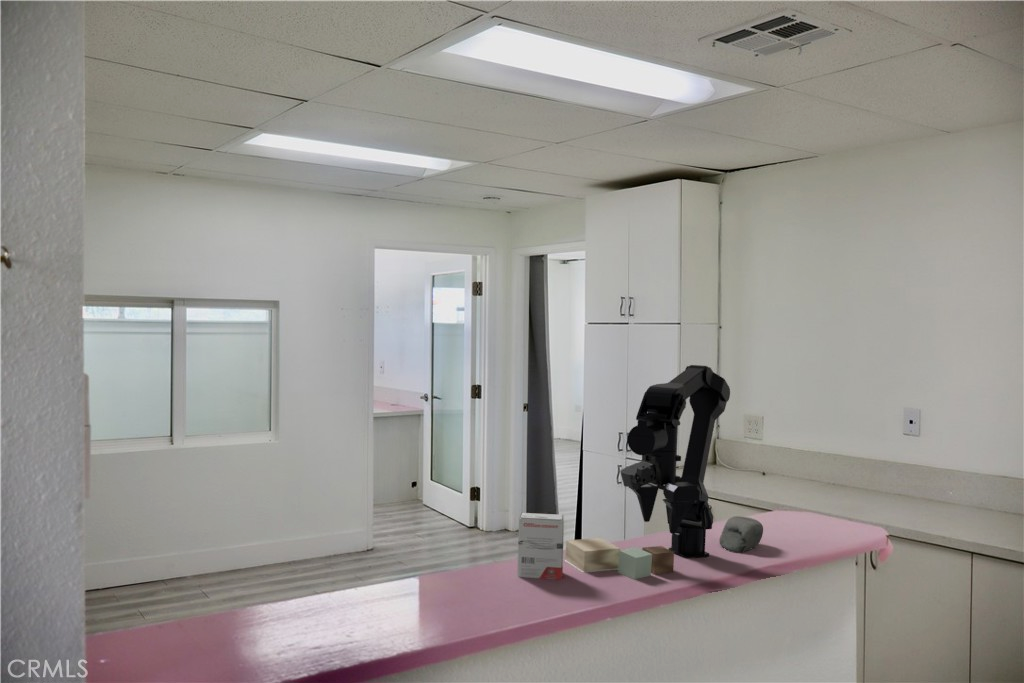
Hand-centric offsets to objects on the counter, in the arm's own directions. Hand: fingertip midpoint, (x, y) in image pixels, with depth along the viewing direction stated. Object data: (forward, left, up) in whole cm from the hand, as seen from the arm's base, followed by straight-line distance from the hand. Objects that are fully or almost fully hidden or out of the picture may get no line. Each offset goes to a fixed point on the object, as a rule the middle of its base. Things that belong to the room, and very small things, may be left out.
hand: (659, 527), depth 156 cm
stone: (-29, -11, -9) cm, 32 cm away
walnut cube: (0, 0, -9) cm, 9 cm away
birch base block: (+11, -7, -9) cm, 16 cm away
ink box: (+24, -4, -9) cm, 26 cm away
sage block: (+6, +1, -9) cm, 11 cm away
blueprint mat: (+11, -7, -9) cm, 16 cm away
